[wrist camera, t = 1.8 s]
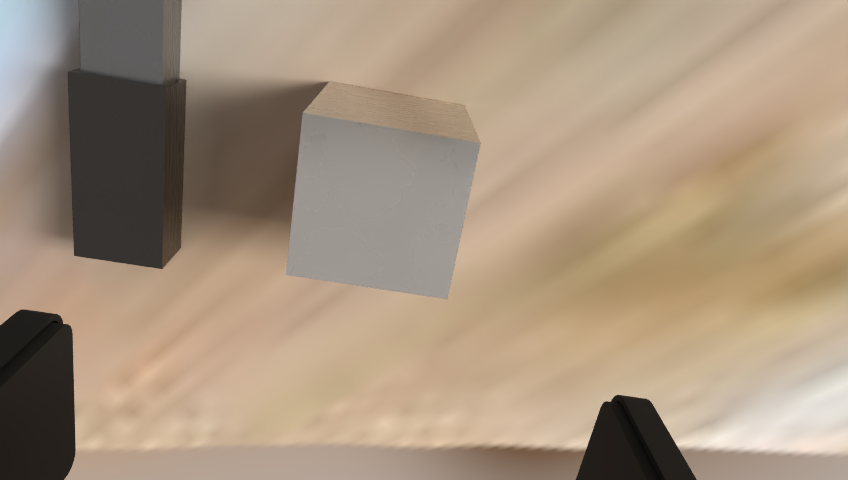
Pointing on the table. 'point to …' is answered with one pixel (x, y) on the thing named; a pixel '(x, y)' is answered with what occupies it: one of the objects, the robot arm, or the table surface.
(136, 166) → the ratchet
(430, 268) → the wood-topped grey cube
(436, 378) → the table surface
